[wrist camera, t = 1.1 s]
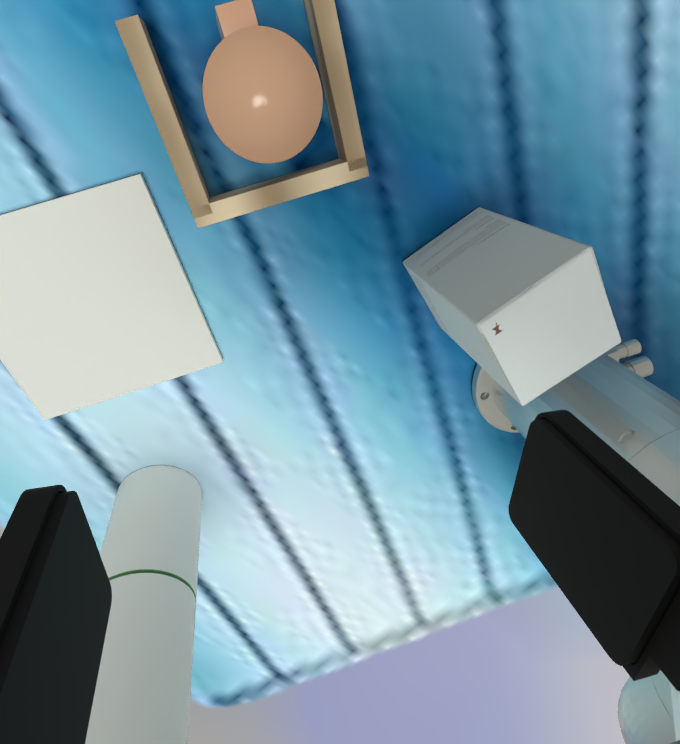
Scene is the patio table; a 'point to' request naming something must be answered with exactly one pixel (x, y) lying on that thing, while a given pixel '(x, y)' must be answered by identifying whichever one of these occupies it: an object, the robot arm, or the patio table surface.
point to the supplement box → (516, 300)
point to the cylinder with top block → (260, 88)
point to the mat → (96, 299)
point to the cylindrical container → (149, 610)
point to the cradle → (275, 189)
